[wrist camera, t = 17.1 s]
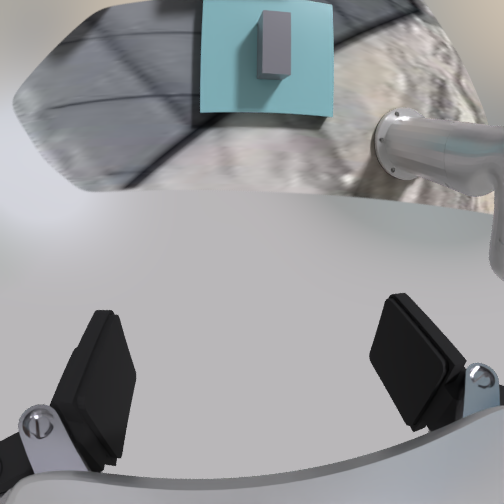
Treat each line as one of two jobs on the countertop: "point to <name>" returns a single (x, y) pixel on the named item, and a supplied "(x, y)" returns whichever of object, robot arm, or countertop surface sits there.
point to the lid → (267, 57)
